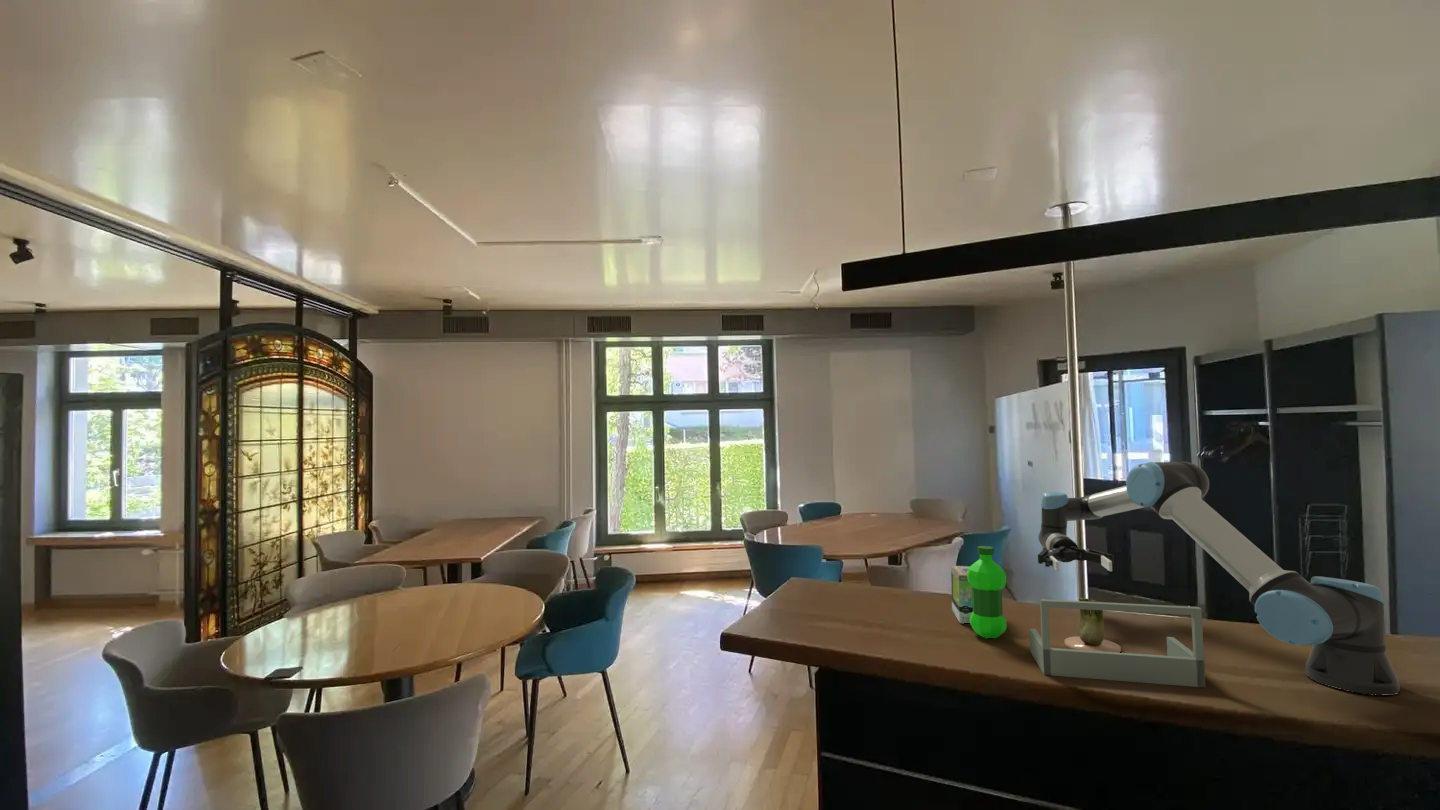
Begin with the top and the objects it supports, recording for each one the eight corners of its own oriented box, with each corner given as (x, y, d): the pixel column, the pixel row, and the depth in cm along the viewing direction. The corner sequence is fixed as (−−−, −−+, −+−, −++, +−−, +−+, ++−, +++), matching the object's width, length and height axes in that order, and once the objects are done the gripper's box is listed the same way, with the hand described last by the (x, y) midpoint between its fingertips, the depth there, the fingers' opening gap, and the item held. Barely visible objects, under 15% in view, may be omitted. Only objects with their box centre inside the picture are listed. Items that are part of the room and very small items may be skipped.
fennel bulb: (1107, 647, 167) (1105, 601, 168) (1090, 648, 167) (1089, 602, 167) (1091, 640, 173) (1089, 595, 174) (1075, 641, 172) (1073, 596, 173)
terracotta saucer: (1126, 646, 170) (1126, 643, 170) (1113, 659, 161) (1113, 656, 161) (1073, 636, 179) (1073, 633, 179) (1057, 647, 170) (1057, 644, 170)
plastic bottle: (972, 640, 177) (969, 550, 178) (967, 629, 187) (964, 543, 188) (1011, 643, 174) (1008, 551, 175) (1003, 631, 184) (1000, 544, 186)
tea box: (994, 625, 190) (992, 575, 190) (959, 624, 192) (957, 574, 192) (984, 611, 205) (982, 565, 205) (951, 610, 207) (949, 564, 207)
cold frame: (1030, 651, 168) (1027, 584, 168) (1174, 661, 159) (1171, 590, 159) (1044, 674, 152) (1041, 600, 152) (1205, 687, 143) (1201, 608, 143)
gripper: (1106, 559, 197) (1134, 579, 177) (1020, 559, 203) (1036, 579, 182) (1105, 535, 197) (1132, 553, 176) (1018, 536, 203) (1035, 553, 182)
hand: (1083, 566), depth 179 cm, fingers open, 13 cm apart
